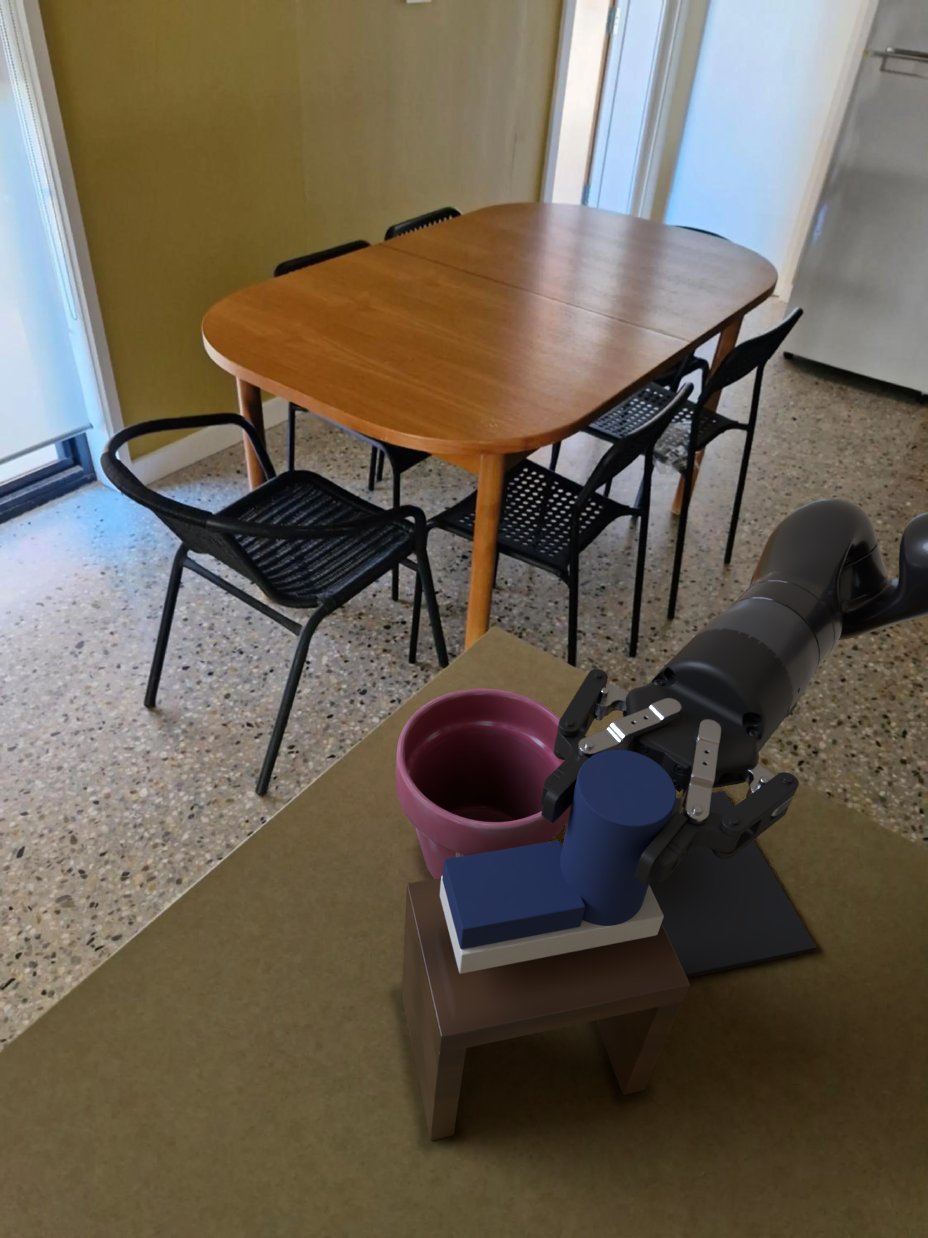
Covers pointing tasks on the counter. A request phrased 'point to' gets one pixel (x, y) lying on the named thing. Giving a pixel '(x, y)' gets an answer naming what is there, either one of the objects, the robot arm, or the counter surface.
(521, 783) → the flower pot
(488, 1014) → the shoe bench
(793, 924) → the shoe mat
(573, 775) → the robot arm
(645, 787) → the boot
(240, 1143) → the counter surface
